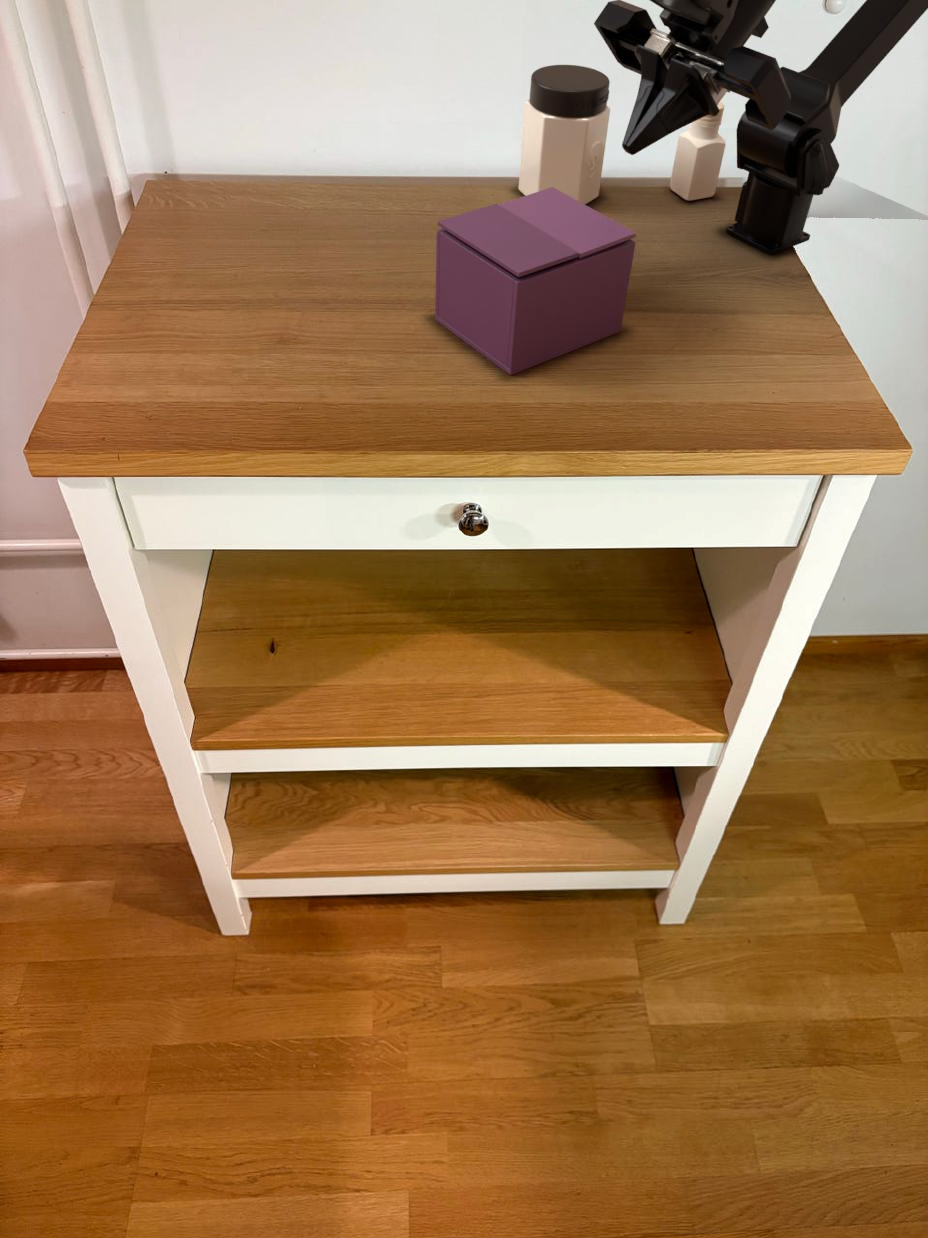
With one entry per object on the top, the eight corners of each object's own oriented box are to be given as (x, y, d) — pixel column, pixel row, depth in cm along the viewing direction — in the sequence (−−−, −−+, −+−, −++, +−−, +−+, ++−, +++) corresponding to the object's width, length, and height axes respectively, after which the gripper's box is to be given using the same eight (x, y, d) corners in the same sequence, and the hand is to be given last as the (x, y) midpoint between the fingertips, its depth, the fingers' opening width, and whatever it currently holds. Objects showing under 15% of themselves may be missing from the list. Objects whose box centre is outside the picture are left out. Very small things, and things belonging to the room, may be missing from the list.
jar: (568, 218, 106) (582, 98, 97) (505, 196, 109) (513, 78, 100) (610, 191, 111) (626, 75, 102) (549, 171, 114) (560, 57, 105)
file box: (543, 282, 96) (552, 186, 89) (620, 331, 90) (637, 232, 83) (435, 320, 90) (436, 220, 83) (510, 375, 84) (518, 273, 78)
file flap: (552, 190, 89) (552, 186, 89) (635, 237, 83) (636, 232, 83) (497, 209, 87) (497, 204, 86) (579, 258, 81) (580, 253, 81)
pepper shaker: (666, 188, 112) (683, 99, 105) (695, 183, 113) (714, 94, 106) (686, 203, 109) (704, 112, 103) (716, 197, 111) (736, 107, 104)
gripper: (627, -117, 80) (511, 57, 83) (809, -65, 70) (670, 129, 73) (676, -17, 89) (570, 136, 92) (844, 41, 79) (719, 210, 82)
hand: (626, 150), depth 84 cm, fingers closed
